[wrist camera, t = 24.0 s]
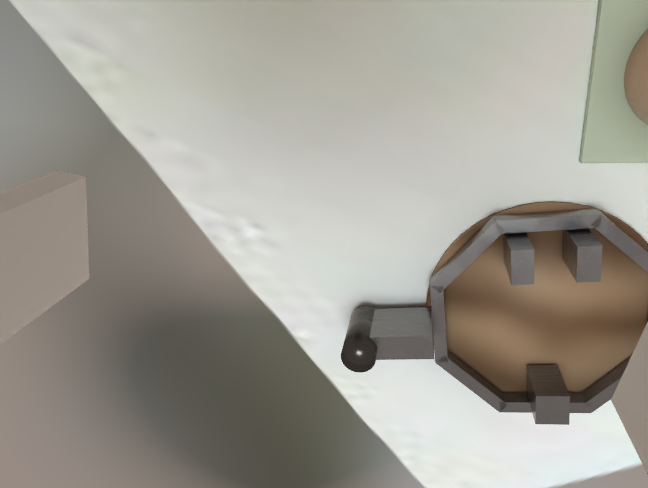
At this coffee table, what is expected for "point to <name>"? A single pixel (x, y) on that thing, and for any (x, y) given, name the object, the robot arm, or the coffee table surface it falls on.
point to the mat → (614, 87)
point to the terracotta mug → (638, 78)
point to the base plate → (544, 309)
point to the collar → (578, 254)
